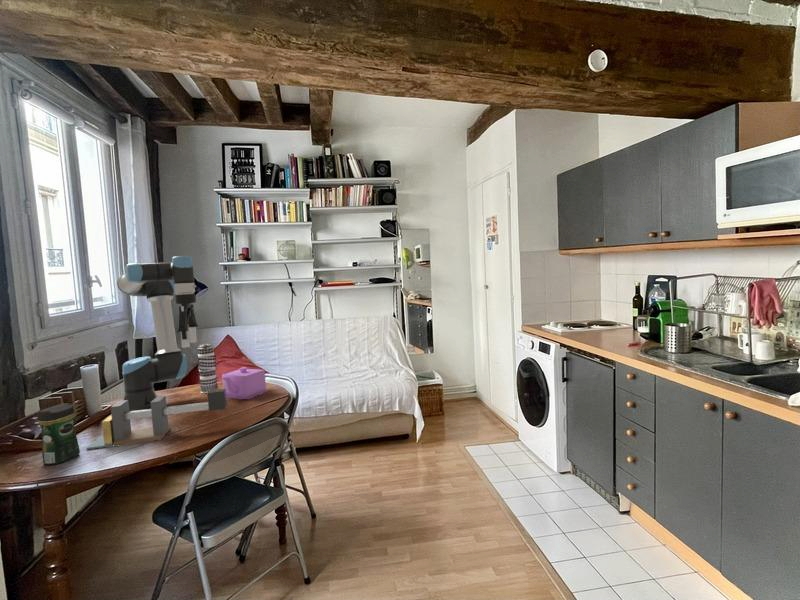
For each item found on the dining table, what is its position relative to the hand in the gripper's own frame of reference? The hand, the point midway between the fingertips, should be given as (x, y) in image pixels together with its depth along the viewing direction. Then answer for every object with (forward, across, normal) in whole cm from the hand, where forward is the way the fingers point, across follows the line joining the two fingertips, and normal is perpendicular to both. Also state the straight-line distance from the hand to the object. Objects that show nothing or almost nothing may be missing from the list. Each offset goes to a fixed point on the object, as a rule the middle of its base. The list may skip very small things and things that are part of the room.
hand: (189, 344), depth 176 cm
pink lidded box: (+32, +30, -16) cm, 47 cm away
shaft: (+24, -14, +4) cm, 28 cm away
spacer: (+31, -14, +26) cm, 42 cm away
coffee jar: (+32, -26, +37) cm, 55 cm away
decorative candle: (+32, +47, +3) cm, 57 cm away
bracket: (+32, -14, +16) cm, 38 cm away
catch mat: (+32, -14, +28) cm, 44 cm away
